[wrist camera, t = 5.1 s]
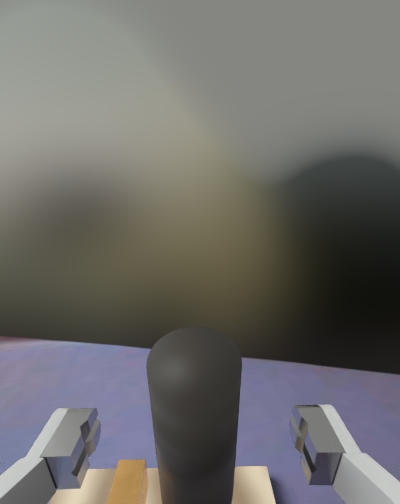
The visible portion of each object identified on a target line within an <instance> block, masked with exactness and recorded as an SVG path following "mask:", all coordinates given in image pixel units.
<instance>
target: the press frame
mask: <svg viewBox="0 0 400 504" xmlns="http://www.w3.org/2000/svg"><path fill="white" fill-rule="evenodd" d="M115 473H116V469H88V470H87V473H86V475H85V478H84V481H83V483H82V486H81V488H80V489H62V490H56V493H55V494H54V495H53V497H52V498H51V500H50V502H49V504H107V501H108V497H109V494H110V490H111V487H112V483H113V480H114V476H115ZM147 474H148V481H149V485H148V491H147V497H146V503H145V504H162V499H161V490H160V482H159V473H158V468H147ZM231 504H276V503H275V499H274V494H273V490H272V486H271V482H270V478H269V474H268V470H267V466H245V467H235V473H234V487H233V498H232V503H231Z"/></svg>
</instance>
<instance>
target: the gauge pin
mask: <svg viewBox="0 0 400 504" xmlns="http://www.w3.org/2000/svg"><path fill="white" fill-rule="evenodd" d="M148 485H149V481H148V474H147V467H146V460H119V462H118V466H117V469H116V473H115V476H114V480H113V483H112V487H111V490H110V494H109V497H108V501H107V504H145V503H146V497H147V491H148Z"/></svg>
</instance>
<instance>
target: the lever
mask: <svg viewBox="0 0 400 504" xmlns="http://www.w3.org/2000/svg"><path fill="white" fill-rule="evenodd" d="M241 371H242V359H241V355H240V352H239V350H238V348H237V346H236V345H235V343H234V342H233V341H232V340H231V339H230V338H229V337H227V336H226V335H224V334H223V333H221V332H219V331H216V330H214V329H210V328H205V327H186V328H181V329H178V330H175V331H173V332H170V333H168V334H167V335H165V336H164V337H162V338H161V339H160V340H159V341H158V342H157V343H156V344H155V345H154V346H153V348H152V349H151V351H150V353H149V356H148V359H147V376H148V385H149V394H150V403H151V412H152V420H153V429H154V438H155V447H156V455H157V464H158V473H159V482H160V490H161V499H162V504H231V503H232V498H233V487H234V473H235V458H236V444H237V429H238V414H239V400H240V385H241Z"/></svg>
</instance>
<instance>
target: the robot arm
mask: <svg viewBox="0 0 400 504" xmlns="http://www.w3.org/2000/svg"><path fill="white" fill-rule="evenodd" d="M292 413H293V417H292V418H291V419H290V433H291V437H292V441H293V443H294V446H295V448H296V449H297V450H298V451H299V452H300V453H301V454H302V455H301V460H300V463H301V465H302V468H303V471H304V473H305V476H306V479H307V481H308V484H309V485H333V486H332V487H333V488H334V490H335V491H336V492H337V493H338V495H339V496H340V497H341V498H342V499H343V501H344V502H345V503H346V504H400V482H399V481H398V480H397V479H396V478H394V477H393V476H392V475H391V474H390V473H389V472H387V471H386V470H385V469H384V468H383V467H382V466H380V465H379V464H378V463H377V462H376V461H375V460H373V459H372V458H371V457H370V456H369V455H368V454H366V453H362V452H361V451H360V449H359V447H358V446H357V444H356V443H355V441H354V439H353V438H352V436H351V434H350V433H349V431H348V430H347V428H346V426H345V425H344V423H343V421H342V420H341V418H340V417H339V415H338V413H337V412H336V410H335V408H334V407H333V406H332V405H329V404H328V405H317V404H315V405H294V406H293V407H292ZM97 415H98V412H97V408H58V409H57V410H56V411H55V412H54V413H53V414H52V416H51V417H50V419H49V421H48V422H47V424H46V425H45V427H44V429H43V430H42V432H41V433H40V435H39V436H38V438H37V440H36V441H35V443H34V444H33V446H32V448H31V449H30V451H29V452H28V454H27V455H26V457H25V458H20V459H19V460H18V461H17V462H16V463H15V464H13V465H12V466H11V467H10V468H9V469H8V470H6V471H5V472H4V473H3V474H2V475H0V504H47V503H48V501H49V500H50V499H51V498H52V497H53V495H54V494H55V493H56V490H62V489H80V488H81V486H82V483H83V481H84V478H85V475H86V473H87V470H88V468H89V465H90V464H89V458H88V457H89V456H90V455H91V454H92V453H93V452H94V451H95V450H96V447H97V444H98V441H99V437H100V432H101V425H100V421H99V420H97V419H96V418H97Z"/></svg>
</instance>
